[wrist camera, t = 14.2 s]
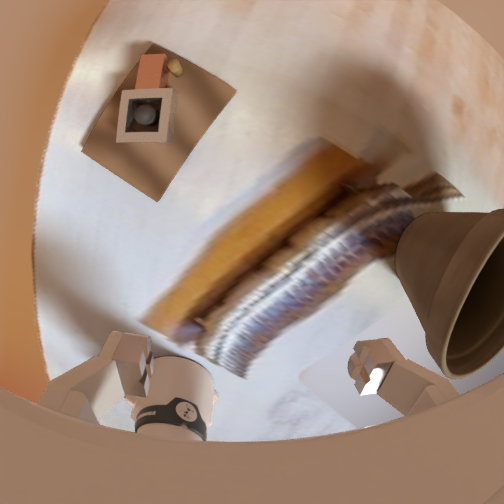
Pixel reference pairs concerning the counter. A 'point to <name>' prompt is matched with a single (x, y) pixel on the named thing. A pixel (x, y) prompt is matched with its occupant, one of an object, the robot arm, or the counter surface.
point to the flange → (148, 102)
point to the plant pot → (456, 286)
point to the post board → (148, 115)
